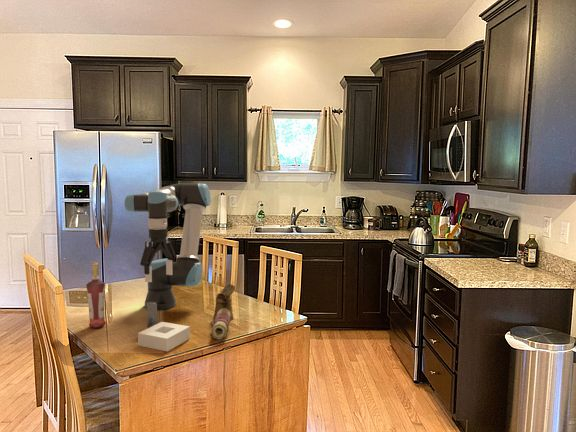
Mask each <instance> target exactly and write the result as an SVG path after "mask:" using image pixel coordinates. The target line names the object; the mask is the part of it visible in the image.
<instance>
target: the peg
mask: <svg viewBox="0 0 576 432" xmlns="http://www.w3.org/2000/svg"><path fill="white" fill-rule="evenodd" d="M146 323H147V329H148V328H150V327H152V326H154V325H156V324H158V310H157V302H154V301H153V302H148V303H147V308H146Z"/></svg>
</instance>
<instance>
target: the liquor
mask: <svg viewBox="0 0 576 432" xmlns="http://www.w3.org/2000/svg"><path fill="white" fill-rule="evenodd" d="M90 265H91V269H92V271H91V273H92V274H91V281H89V282H88V283H87V284H86V293H87V294H86V295H87V304H88V316H89V317H88V318H89V323H88V326H89V327H90V328H92V329H101V328H103V327H104V326H105V325H106V324H107V321H106V319H105V318H106V317H105V316H106V315H105V314H106V312H105V309H106V306H105V301H106V300H105V299H106V282H104V281H102V280H101V279H100V274H99V262H91V264H90Z"/></svg>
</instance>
